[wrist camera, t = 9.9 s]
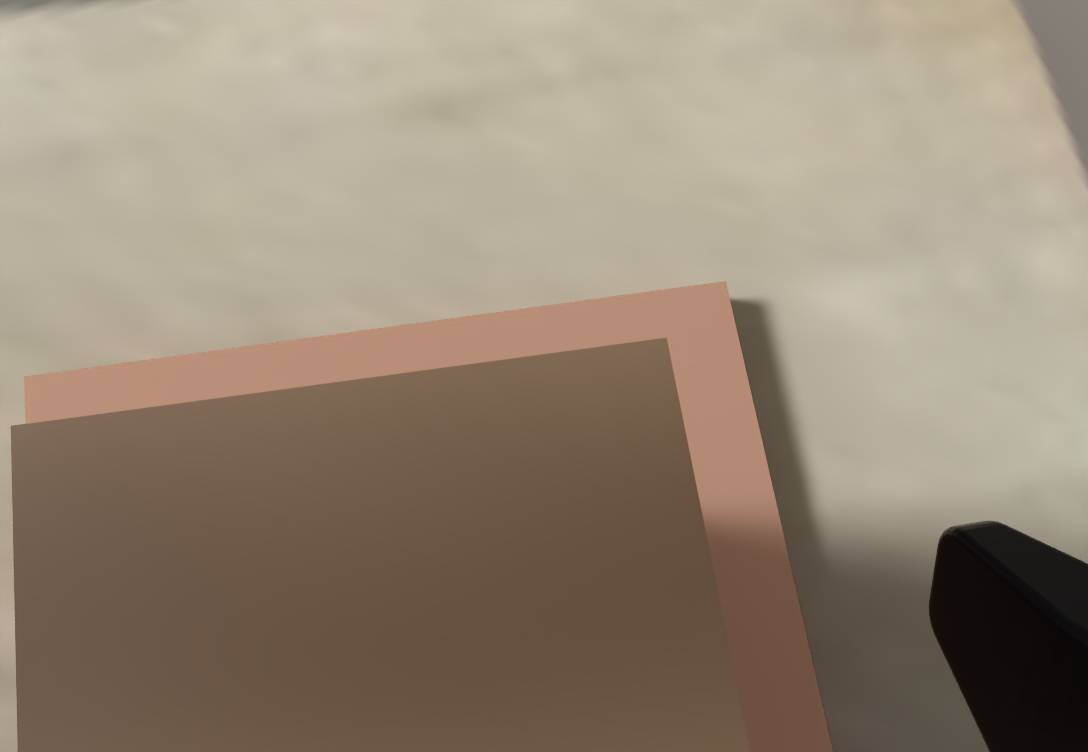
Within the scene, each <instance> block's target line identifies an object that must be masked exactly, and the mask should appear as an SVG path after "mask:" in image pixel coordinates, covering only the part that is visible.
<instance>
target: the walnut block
mask: <svg viewBox="0 0 1088 752" xmlns="http://www.w3.org/2000/svg"><path fill="white" fill-rule="evenodd" d="M11 455H12V502H13V548H14V595H15V641H16V688H17V734H18V752H750V748H749V743H748V738H747V733H746V728H745V723H744V718H743V713H742V708H741V703H740V698H739V693H738V688H737V683H736V678H735V673H734V668H733V663H732V659H731V654H730V649H729V644H728V639H727V634H726V629H725V624H724V619H723V614H722V609H721V604H720V599H719V594H718V589H717V584H716V579H715V574H714V569H713V565H712V560H711V555H710V550H709V545H708V540H707V535H706V530H705V525H704V520H703V515H702V510H701V505H700V500H699V495H698V490H697V485H696V480H695V475H694V470H693V466H692V461H691V456H690V451H689V446H688V441H687V436H686V431H685V426H684V421H683V416H682V411H681V406H680V401H679V396H678V391H677V386H676V381H675V376H674V372H673V367H672V362H671V357H670V352H669V347H668V342H667V338H660V339H653V340H645V341H638V342H630V343H623V344H615V345H608V346H601V347H593V348H586V349H578V350H571V351H564V352H556V353H549V354H541V355H534V356H526V357H519V358H512V359H504V360H497V361H489V362H482V363H474V364H467V365H460V366H452V367H445V368H437V369H430V370H422V371H415V372H408V373H400V374H393V375H385V376H378V377H371V378H363V379H356V380H348V381H341V382H333V383H326V384H319V385H311V386H304V387H296V388H289V389H281V390H274V391H267V392H259V393H252V394H244V395H237V396H229V397H222V398H215V399H207V400H200V401H192V402H185V403H178V404H170V405H163V406H155V407H148V408H140V409H133V410H126V411H118V412H111V413H103V414H96V415H88V416H81V417H74V418H66V419H59V420H51V421H44V422H36V423H29V424H22V425H14V426H11Z"/></svg>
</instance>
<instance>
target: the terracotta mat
mask: <svg viewBox="0 0 1088 752" xmlns="http://www.w3.org/2000/svg"><path fill="white" fill-rule="evenodd" d="M660 338H667V342H668V347H669V352H670V357H671V362H672V367H673V372H674V376H675V381H676V386H677V391H678V396H679V401H680V406H681V411H682V416H683V421H684V426H685V431H686V436H687V441H688V446H689V451H690V456H691V461H692V466H693V470H694V475H695V480H696V485H697V490H698V495H699V500H700V505H701V510H702V515H703V520H704V525H705V530H706V535H707V540H708V545H709V550H710V555H711V560H712V565H713V569H714V574H715V579H716V584H717V589H718V594H719V599H720V604H721V609H722V614H723V619H724V624H725V629H726V634H727V639H728V644H729V649H730V654H731V659H732V663H733V668H734V673H735V678H736V683H737V688H738V693H739V698H740V703H741V708H742V713H743V718H744V723H745V728H746V733H747V738H748V743H749V748H750V752H833V748H832V744H831V739H830V735H829V730H828V726H827V722H826V717H825V713H824V709H823V704H822V700H821V695H820V691H819V687H818V682H817V678H816V674H815V669H814V665H813V661H812V656H811V652H810V647H809V643H808V639H807V634H806V630H805V626H804V621H803V617H802V612H801V608H800V604H799V599H798V595H797V591H796V586H795V582H794V578H793V573H792V569H791V564H790V560H789V556H788V551H787V547H786V543H785V538H784V534H783V529H782V525H781V521H780V516H779V512H778V508H777V503H776V499H775V494H774V490H773V486H772V481H771V477H770V473H769V468H768V464H767V460H766V455H765V451H764V446H763V442H762V438H761V433H760V429H759V425H758V420H757V416H756V411H755V407H754V403H753V398H752V394H751V390H750V385H749V381H748V377H747V372H746V368H745V363H744V359H743V355H742V350H741V346H740V342H739V337H738V333H737V328H736V324H735V320H734V315H733V311H732V307H731V302H730V298H729V294H728V289H727V285H726V281H725V282H717V283H710V284H703V285H695V286H688V287H680V288H673V289H666V290H658V291H651V292H644V293H636V294H629V295H622V296H614V297H607V298H600V299H592V300H585V301H578V302H570V303H563V304H556V305H548V306H541V307H533V308H526V309H519V310H511V311H504V312H497V313H489V314H482V315H475V316H467V317H460V318H453V319H445V320H438V321H431V322H423V323H416V324H409V325H401V326H394V327H387V328H379V329H372V330H364V331H357V332H350V333H342V334H335V335H328V336H320V337H313V338H306V339H298V340H291V341H284V342H276V343H269V344H262V345H254V346H247V347H240V348H232V349H225V350H217V351H210V352H203V353H195V354H188V355H181V356H173V357H166V358H159V359H151V360H144V361H137V362H129V363H122V364H115V365H107V366H100V367H93V368H85V369H78V370H71V371H63V372H56V373H48V374H41V375H34V376H26V377H24V382H25V412H26V424H29V423H36V422H44V421H51V420H59V419H66V418H74V417H81V416H88V415H96V414H103V413H111V412H118V411H126V410H133V409H140V408H148V407H155V406H163V405H170V404H178V403H185V402H192V401H200V400H207V399H215V398H222V397H229V396H237V395H244V394H252V393H259V392H267V391H274V390H281V389H289V388H296V387H304V386H311V385H319V384H326V383H333V382H341V381H348V380H356V379H363V378H371V377H378V376H385V375H393V374H400V373H408V372H415V371H422V370H430V369H437V368H445V367H452V366H460V365H467V364H474V363H482V362H489V361H497V360H504V359H512V358H519V357H526V356H534V355H541V354H549V353H556V352H564V351H571V350H578V349H586V348H593V347H601V346H608V345H615V344H623V343H630V342H638V341H645V340H653V339H660Z"/></svg>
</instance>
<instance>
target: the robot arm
mask: <svg viewBox="0 0 1088 752" xmlns="http://www.w3.org/2000/svg"><path fill="white" fill-rule="evenodd" d="M929 615H930V621H931V625H932V628H933V632H934V634H935V636H936V639H937V641H938V643H939V645H940V647H941V649H942V651H943V654H944V656H945V658H946V660H947V662H948V664H949V666H950V668H951V671H952V673H953V675H954V677H955V679H956V681H957V683H958V685H959V688H960V690H961V692H962V694H963V696H964V698H965V700H966V702H967V705H968V707H969V709H970V711H971V713H972V715H973V717H974V719H975V722H976V724H977V726H978V728H979V730H980V732H981V734H982V736H983V739H984V741H985V743H986V745H987V747H988V749H989V751H990V752H1088V564H1087V563H1085V562H1083V561H1081V560H1078V559H1076V558H1074V557H1072V556H1070V555H1068V554H1066V553H1064V552H1062V551H1059V550H1057V549H1055V548H1053V547H1051V546H1049V545H1047V544H1045V543H1043V542H1040V541H1038V540H1036V539H1034V538H1032V537H1030V536H1028V535H1026V534H1023V533H1021V532H1019V531H1017V530H1015V529H1013V528H1011V527H1009V526H1007V525H1004V524H1002V523H999V522H996V521H982V522H976V523H970V524H964V525H958V526H953V527H950V528H948V529H946V530H945V531H944V532H943V534H942V535H941V537H940V539H939V543H938V548H937V555H936V561H935V567H934V574H933V580H932V587H931V593H930V600H929Z"/></svg>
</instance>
